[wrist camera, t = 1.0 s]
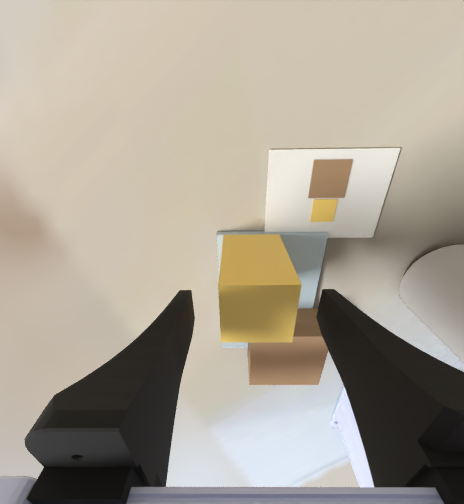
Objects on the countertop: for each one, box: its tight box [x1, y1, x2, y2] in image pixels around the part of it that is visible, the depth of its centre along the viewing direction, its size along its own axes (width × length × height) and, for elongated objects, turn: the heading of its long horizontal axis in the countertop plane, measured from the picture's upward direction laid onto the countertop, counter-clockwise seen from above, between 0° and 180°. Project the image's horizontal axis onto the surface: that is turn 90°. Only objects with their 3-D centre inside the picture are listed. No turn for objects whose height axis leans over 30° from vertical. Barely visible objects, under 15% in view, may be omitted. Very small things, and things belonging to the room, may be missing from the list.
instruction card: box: [264, 148, 401, 238], centre depth 15 cm, size 6×8×1 cm
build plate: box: [217, 231, 328, 348], centre depth 19 cm, size 12×8×1 cm, turn 1°
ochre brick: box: [218, 234, 302, 342], centre depth 14 cm, size 4×4×6 cm
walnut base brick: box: [248, 308, 328, 385], centre depth 19 cm, size 6×6×3 cm
